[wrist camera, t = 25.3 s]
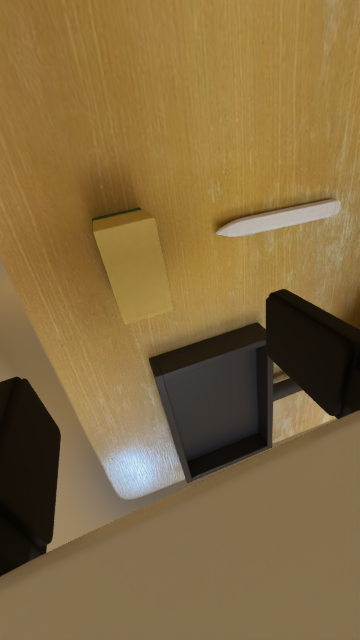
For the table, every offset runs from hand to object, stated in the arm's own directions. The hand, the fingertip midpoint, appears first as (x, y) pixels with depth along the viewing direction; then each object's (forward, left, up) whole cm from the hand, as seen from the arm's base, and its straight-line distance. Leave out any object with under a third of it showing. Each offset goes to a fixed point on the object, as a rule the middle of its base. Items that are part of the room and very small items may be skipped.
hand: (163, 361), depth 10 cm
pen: (+15, 0, -16) cm, 22 cm away
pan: (+6, -22, -16) cm, 28 cm away
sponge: (+1, 0, -16) cm, 16 cm away
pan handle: (+17, -22, -15) cm, 31 cm away
